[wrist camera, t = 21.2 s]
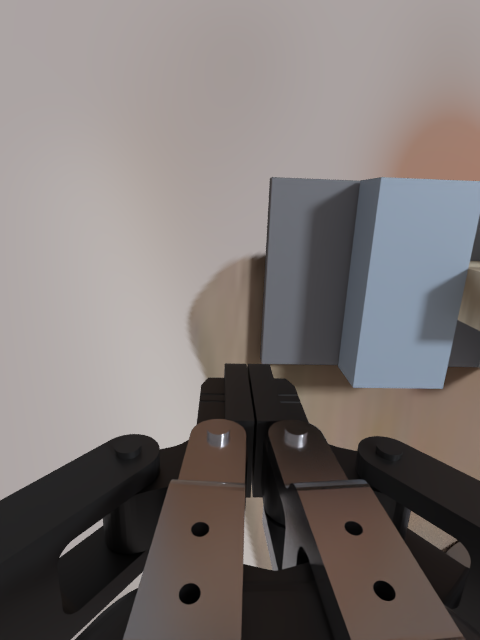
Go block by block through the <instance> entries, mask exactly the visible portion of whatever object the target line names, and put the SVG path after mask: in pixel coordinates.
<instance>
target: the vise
mask: <svg viewBox="0 0 480 640" xmlns="http://www.w3.org/2000/svg"><path fill="white" fill-rule="evenodd" d="M359 188H360V181H351V180H326V179H325V180H324V179H302V178H277V177H275V178H274V177H272V178H270V189H269V190H270V191H269V208H268V226H267V243H266V262H265V280H264V298H263V316H262V334H261V353H260V359H261V363H262V364H308V365H338V363H339V354H340V346H341V338H342V329H343V321H344V313H345V305H346V296H347V288H348V280H349V271H350V263H351V255H352V246H353V238H354V230H355V221H356V213H357V205H358V197H359ZM470 261H480V216H479V220H478V225H477V230H476V235H475V239H474V244H473V249H472V254H471V258H470ZM448 367H479V368H480V331H479V330H477V329H475V328H473V327H471V326H469V325H467V324H465V323H463V322H461V321H459V320H457V324H456V329H455V334H454V338H453V343H452V348H451V353H450V357H449V362H448Z"/></svg>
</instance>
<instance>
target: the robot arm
mask: <svg viewBox="0 0 480 640" xmlns="http://www.w3.org/2000/svg"><path fill="white" fill-rule="evenodd" d="M251 483H252V493H253V497H263V504H264V505H263V520H262V521H263V527H264V532H265V536H266V541H267V546H268V550H269V555H270V560H271V564H272V569H273V570H267V569H263V568H258V567H254V566H250V565H245V564H243V551H244V549H243V548H244V515H245V506H246V497H250V496H251ZM411 511H413V512H414V513H416V514H417V515H419V516H421V517H422V518H424V519H425V520H427V521H429V522H430V523H432V524H433V525H435V526H437V527H438V528H440V529H441V530H443V531H445V532H446V533H448V534H450V535H451V536H453V537H454V538H456V539H457V540H458V541H459V542H458V543H457V544H455V545H454V546H452V547H451V548H450V549H449V550H448V551H447V552H446V553H444V552H443V551H441V550H440V549H438V548H437V547H435V546H434V545H432V544H431V543H429V542H428V541H426V540H425V539H423V538H422V537H420V536H419V535H417V534H416V533H414V532H413V531H411V530H410V529H408V528H407V527H408V522H409V517H410V512H411ZM102 518H103V526H102V527H101V528H99V529H98V530H96V531H95V532H94V533H93V534H91V535H90V536H89V537H87V538H86V539H84V540H83V541H82V542H80V543H79V544H78V545H76V546H75V547H74V548H72V549H71V550H70V551H68V552H67V553H66V554H64V555H63V556H61V557H60V555H61V553H62V551H63V550H64V549H65V547H66V546H67V545H68V544H69V543H70V542H71V541H72V540H73V539H75V538H76V537H77V536H78V535H80V534H81V533H82V532H84V531H86V530H87V529H88V528H90V527H91V526H92V525H94V524H95V523H96V522H98V521H99V520H101V519H102ZM59 557H60V558H59ZM142 572H143V574H142V577H141V581H140V584H139V587H138V588H137V589H135V590H133V591H131V592H129V593H128V594H126V595H125V596H123V597H122V598H120V599H119V600H117V601H116V602H115V603H113V604H112V605H111V606H110V607H108V608H107V609H106V610H105V611H103V612H102V613H101V614H100V615H99V616H98V617H97V618H96V619H95V620H94V621H93V622H92V623H91V624H90V625H89V626H88V627H87V628H86V629H85V630H84V631H83V632H82V633H81V634H80V635H79V636H78V637H77V638H76V639H75V640H480V481H479V480H477V479H475V478H473V477H471V476H469V475H467V474H465V473H463V472H461V471H459V470H457V469H455V468H453V467H451V466H449V465H447V464H445V463H443V462H441V461H439V460H437V459H435V458H433V457H431V456H429V455H426V454H424V453H422V452H420V451H418V450H416V449H414V448H412V447H410V446H408V445H406V444H404V443H402V442H400V441H398V440H395V439H392V438H388V437H380V436H374V437H368V438H365V439H363V440H362V441H361V442H360V443H359V445H358V450H357V451H353V450H349V449H344V448H339V447H335V446H333V445H330V444H328V443H327V441H326V439H325V437H324V435H323V434H322V432H321V431H320V430H319V429H318V428H317V427H315V426H314V425H312V424H310V423H308V420H307V417H306V415H305V412H304V410H303V407H302V405H301V403H300V399H299V397H298V394H297V392H296V389H295V386H294V385H292V384H291V383H290V382H289V381H288V380H286V379H274V378H273V374H272V371H271V367H270V364H248V366H247V365H246V364H225V372H224V378H208V379H207V380H206V381H205V382H204V383H203V384H202V385H201V393H200V402H199V410H198V419H197V425H196V426H195V427H194V428H193V429H192V431H191V434H190V437H189V440H188V441H186V442H184V443H182V444H180V445H177V446H174V447H170V448H165V449H160V450H159V445H158V443H157V442H156V441H155V440H154V439H153V438H151V437H148V436H145V435H139V434H130V435H123V436H120V437H117V438H114V439H112V440H110V441H108V442H106V443H104V444H102V445H101V446H99V447H97V448H95V449H93V450H91V451H90V452H88V453H86V454H84V455H82V456H81V457H79V458H77V459H75V460H74V461H71V462H70V463H68V464H66V465H64V466H62V467H60V468H59V469H57V470H55V471H53V472H51V473H50V474H48V475H46V476H44V477H42V478H41V479H39V480H37V481H35V482H33V483H31V484H30V485H28V486H26V487H24V488H22V489H20V490H19V491H17V492H15V493H13V494H11V495H9V496H8V497H6V498H4V499H2V500H1V501H0V640H71V639H72V638H73V637H74V636H75V635H76V634H77V633H78V632H79V631H80V630H81V629H82V628H83V627H84V626H85V625H87V624H88V623H89V622H90V621H91V620H92V619H93V618H94V617H95V616H96V615H97V614H98V613H99V612H100V611H101V610H103V609H104V607H106V606H107V605H108V604H109V603H110V602H111V601H112V600H113V599H114V598H115V597H116V596H117V595H118V594H119V593H121V592H122V591H123V590H124V589H125V588H126V587H127V586H128V585H129V584H130V583H131V582H132V581H133V580H134V579H135V578H136V577H137V576H139V575H140V574H141V573H142Z"/></svg>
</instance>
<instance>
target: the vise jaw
mask: <svg viewBox="0 0 480 640" xmlns="http://www.w3.org/2000/svg"><path fill="white" fill-rule="evenodd" d="M479 216H480V181H458V180H431V179H409V178H407V179H406V178H385V177H381V178H374V179H368V180H361V181H360V188H359V197H358V205H357V213H356V221H355V230H354V238H353V246H352V255H351V263H350V271H349V280H348V288H347V296H346V305H345V313H344V321H343V329H342V338H341V346H340V354H339V363H338V367H339V368H340V370H341V371H342V373H343V374H344V375H345V377H346V378H347V380H348V381H349V383H350V384H351V385H352V387H353V388H429V389H443V386H444V381H445V376H446V371H447V367H448V362H449V357H450V353H451V348H452V343H453V338H454V334H455V329H456V324H457V320H458V315H459V310H460V305H461V301H462V296H463V291H464V287H465V282H466V277H467V272H468V268H469V263H470V258H471V254H472V249H473V244H474V239H475V235H476V230H477V225H478V220H479Z"/></svg>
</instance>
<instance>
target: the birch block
mask: <svg viewBox="0 0 480 640" xmlns="http://www.w3.org/2000/svg"><path fill="white" fill-rule="evenodd" d="M458 320H459V321H461V322H463V323H465V324H467V325H469V326H471V327H473V328H475V329H477V330H479V331H480V261H470V263H469V268H468V272H467V277H466V282H465V287H464V291H463V296H462V301H461V305H460V310H459V315H458Z"/></svg>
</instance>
